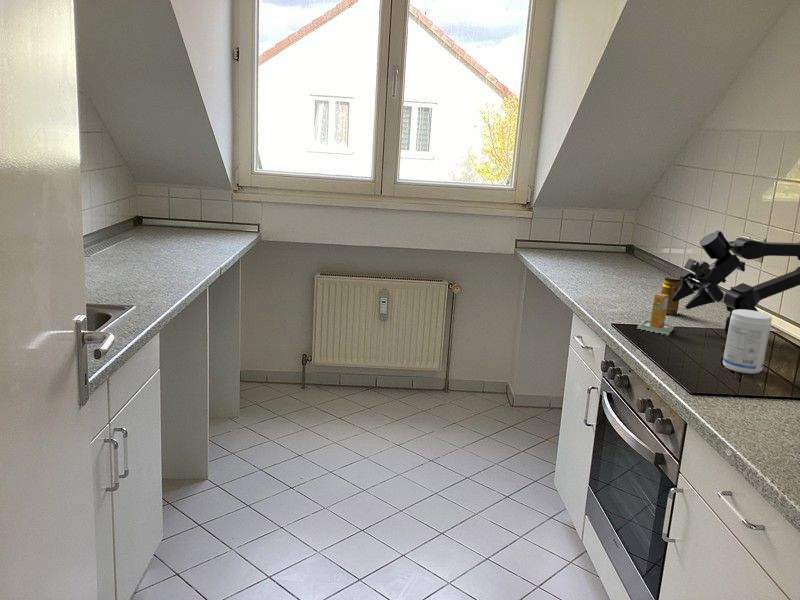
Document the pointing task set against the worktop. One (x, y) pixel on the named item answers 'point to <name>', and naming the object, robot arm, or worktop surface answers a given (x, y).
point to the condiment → (671, 294)
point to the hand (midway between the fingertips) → (679, 304)
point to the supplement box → (659, 310)
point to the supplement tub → (747, 341)
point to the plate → (646, 326)
